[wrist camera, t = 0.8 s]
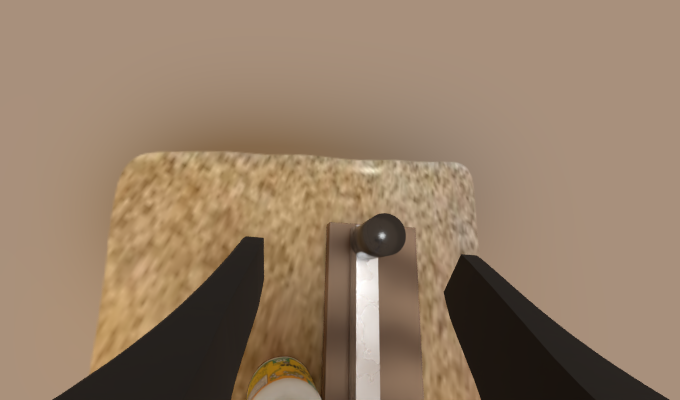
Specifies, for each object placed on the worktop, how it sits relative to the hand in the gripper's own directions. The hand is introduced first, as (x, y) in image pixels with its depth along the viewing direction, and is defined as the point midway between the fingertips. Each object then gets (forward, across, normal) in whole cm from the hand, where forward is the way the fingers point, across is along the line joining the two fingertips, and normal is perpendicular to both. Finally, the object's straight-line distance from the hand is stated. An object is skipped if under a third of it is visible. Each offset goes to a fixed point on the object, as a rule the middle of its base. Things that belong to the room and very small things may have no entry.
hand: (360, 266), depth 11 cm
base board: (+9, -5, +18) cm, 20 cm away
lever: (+8, -3, +16) cm, 18 cm away
